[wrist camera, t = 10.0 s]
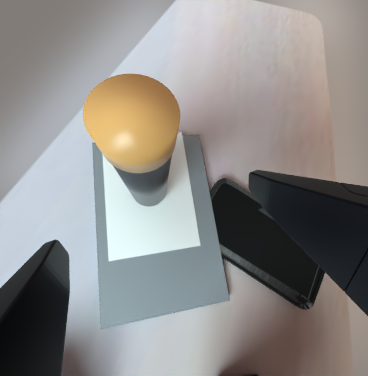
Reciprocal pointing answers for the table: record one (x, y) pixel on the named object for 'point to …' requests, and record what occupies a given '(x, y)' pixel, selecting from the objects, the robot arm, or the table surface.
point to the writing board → (157, 242)
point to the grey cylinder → (135, 131)
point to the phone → (263, 246)
